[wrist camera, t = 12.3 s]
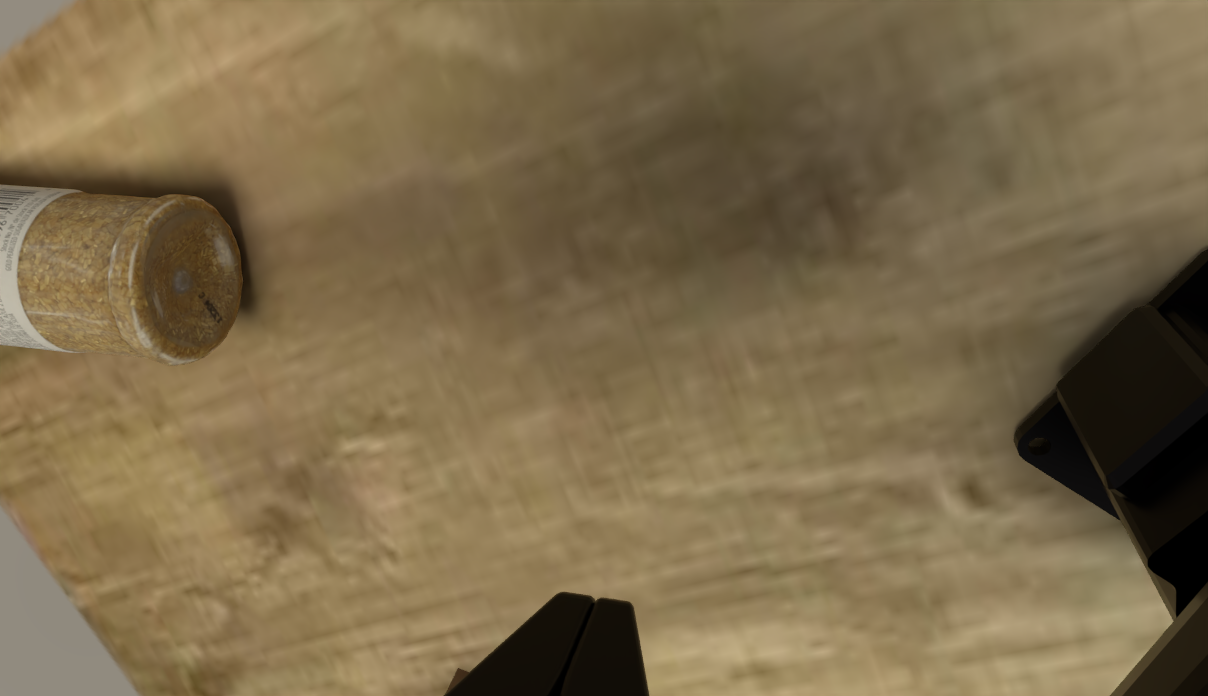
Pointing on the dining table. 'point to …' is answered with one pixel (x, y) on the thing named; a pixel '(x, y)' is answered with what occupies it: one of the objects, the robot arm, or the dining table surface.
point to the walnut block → (457, 678)
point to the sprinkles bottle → (116, 274)
